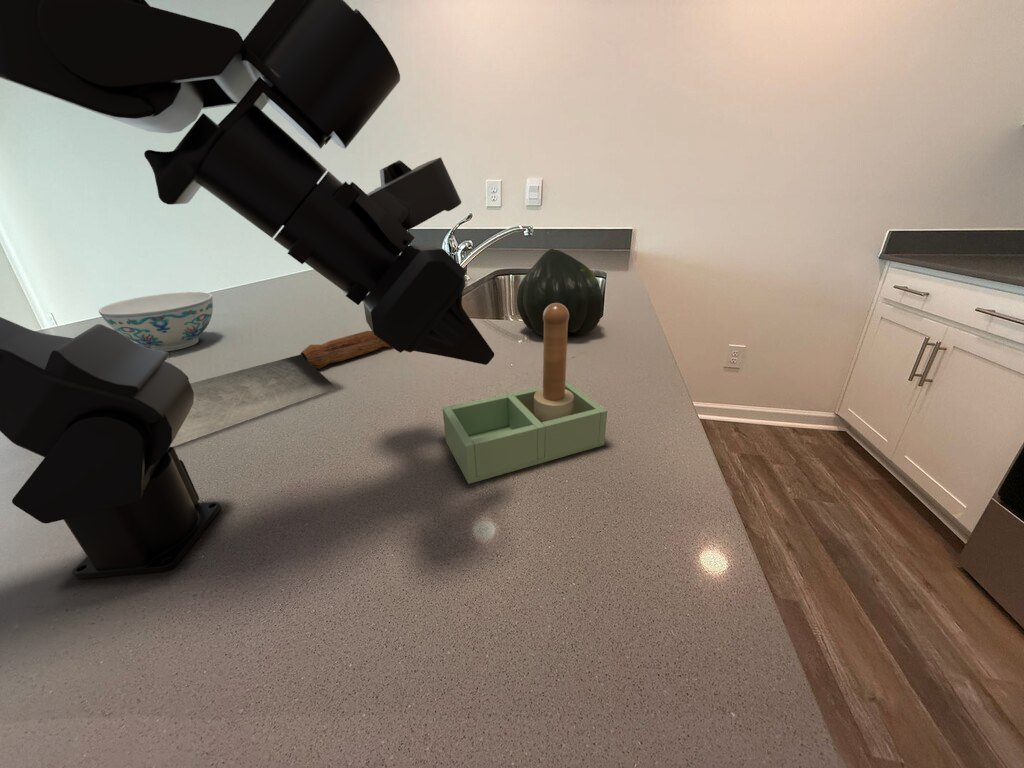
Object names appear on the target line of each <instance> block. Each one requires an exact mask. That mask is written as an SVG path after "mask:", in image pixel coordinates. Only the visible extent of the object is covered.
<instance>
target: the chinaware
mask: <svg viewBox="0 0 1024 768" xmlns="http://www.w3.org/2000/svg"><path fill="white" fill-rule="evenodd" d="M213 311H214V299H213V295H212V294H211V293H209V292H203V291H181V292H169V293H160V294H152V295H146V296H139V297H134V298H128V299H124V300H120V301H115V302H113V303H109V304H107V305H104V306H102V307H100V308H99V309H98V313H99V315H100V316H101V318H102V319H103V320H104V322H106V323H107V325H109V327H110V328H111V329H113V330H116V331H117V332H119V333H120V334H122V335H124V336H125V337H127V338H128V339H130V340H131V341H133V342H135V343H137V344H140V345H144V346H147V347H148V346H149V349H152V350H157V351H164V352H171V351H177V350H181V349H182V350H183V349H185V348H190V347H192V346H194V345H196V344H197V343H199V336H200V335H202V333H203V332H204V331H205V330H206V329H207V327H208V326H209V324H210V322H211V319H212V316H213Z"/></svg>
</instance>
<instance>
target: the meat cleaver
mask: <svg viewBox="0 0 1024 768" xmlns="http://www.w3.org/2000/svg"><path fill="white" fill-rule="evenodd" d="M380 348H387V349H388V348H391V346H390V345H388V344H387V343H385V342H384V341H383V340H381V339H380V338H378V337H377V336H376V335H374V333H373V332H372V330H364V331H361V332H358V333H354V334H350V335H347V336H342V337H339V338H335V339H331V340H329V341H326V342H324V343H321V344H309V345H308V346H306V347H305V348H304V349H303V350H302V351H301V352H300V354H297V355H293V356H289V357H286V358H281V359H278V360H274V361H270V362H267V363H262V364H259V365H256V366H251V367H247V368H244V369H240V370H236V371H232V372H229V373H225V374H220V375H217V376H213V377H209V378H206V379H205V378H204V379H202V380H198V381H195V382H190V384H191V387H192V389H193V392H194V403H193V405H192V407H191V410H190V412H189V414H188V415H187V417H186V419H185V421H184V422H183V424H182V426H181V428H180V430H179V431H178V433H177V435H176V437H175V439H174V440H173V442H172V444H171V446H170V447H176V446H178V445H182V444H184V443H187V442H190V441H192V440H195V439H199V438H200V437H204V436H206V435H209V434H212V433H214V432H215V433H216V432H217V431H221V430H223V429H226V428H230V427H232V426H235V425H238V424H240V423H242V422H245V421H248V420H252V419H254V418H258V417H260V416H262V415H265V414H268V413H271V412H274V411H277V410H280V409H283V408H284V407H287V406H290V405H293V404H297V403H299V402H303V401H304V400H307V399H310V398H313V397H315V396H318V395H321V394H324V393H327V392H330V391H333V390H335V389H337V387H336V386H335V385H334V384H333V383H332V382H331V381H329V379H328V378H326V377H325V376H324V375H323V374H322V373H321V372H320V371H319V370H320V369H322V368H323V367H325V366H327V365H329V364H335V363H336V364H337V363H340V362H343V361H346V360H349V359H353V358H356V357H360V356H363V355H366V354H369V353H374V352H375V351H377V350H379V349H380Z"/></svg>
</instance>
